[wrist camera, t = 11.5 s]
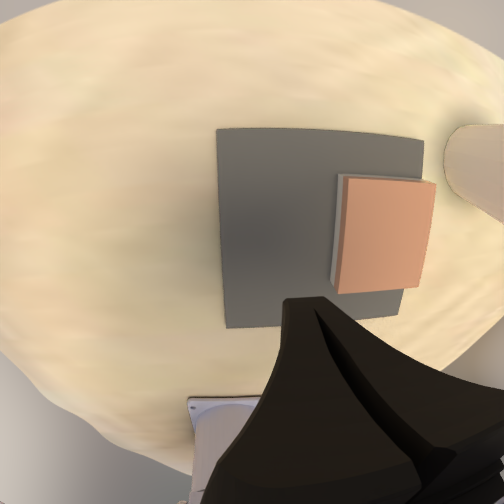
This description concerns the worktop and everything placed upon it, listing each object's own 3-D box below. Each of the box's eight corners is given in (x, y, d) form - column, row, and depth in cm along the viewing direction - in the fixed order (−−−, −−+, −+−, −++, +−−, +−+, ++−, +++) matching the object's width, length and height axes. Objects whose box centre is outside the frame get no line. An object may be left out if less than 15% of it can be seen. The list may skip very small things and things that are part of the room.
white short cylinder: (493, 117, 16) (559, 127, 10) (496, 200, 19) (555, 228, 12) (432, 117, 16) (505, 123, 10) (438, 212, 19) (502, 249, 13)
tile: (329, 280, 20) (406, 275, 20) (337, 294, 18) (418, 287, 18) (338, 173, 17) (421, 178, 17) (348, 178, 15) (436, 184, 16)
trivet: (394, 311, 22) (397, 315, 21) (226, 323, 21) (226, 328, 21) (419, 140, 17) (424, 140, 16) (217, 129, 16) (216, 129, 16)
